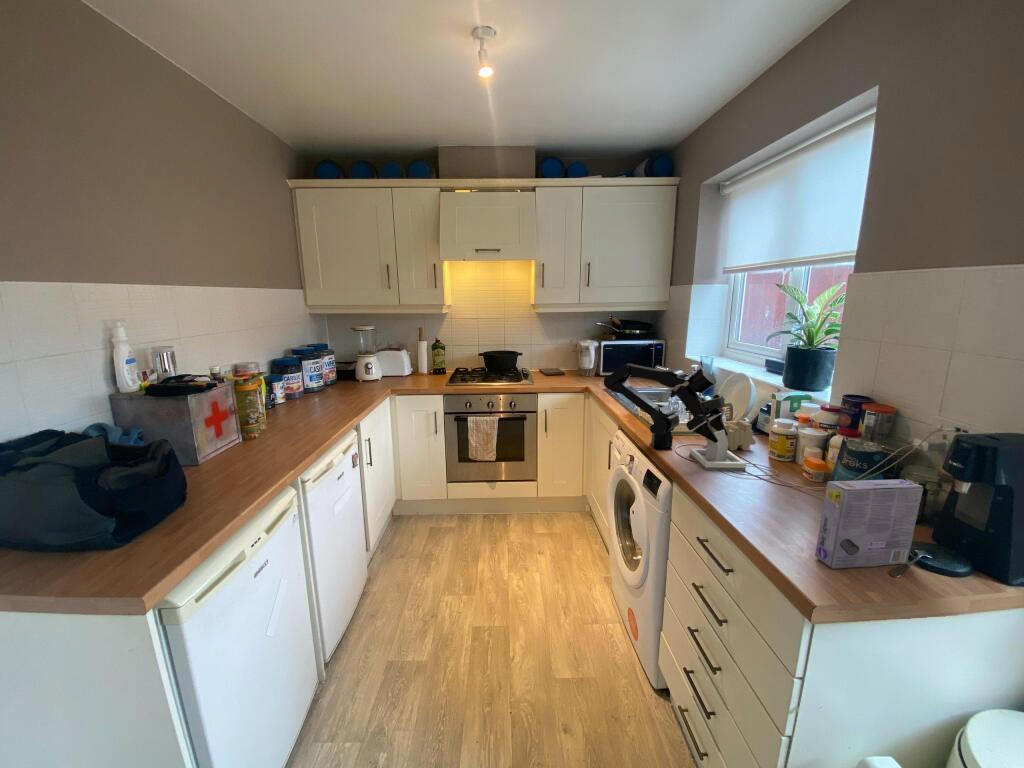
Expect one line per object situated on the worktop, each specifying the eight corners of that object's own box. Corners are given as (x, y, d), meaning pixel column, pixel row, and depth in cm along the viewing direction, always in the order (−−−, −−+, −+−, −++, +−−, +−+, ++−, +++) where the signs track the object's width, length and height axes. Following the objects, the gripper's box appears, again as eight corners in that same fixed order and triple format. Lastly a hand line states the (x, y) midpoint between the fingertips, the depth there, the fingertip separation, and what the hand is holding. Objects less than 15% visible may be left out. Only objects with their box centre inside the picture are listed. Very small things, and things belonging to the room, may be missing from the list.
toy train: (754, 450, 150) (758, 424, 148) (710, 451, 149) (713, 425, 147) (744, 445, 156) (748, 420, 154) (702, 446, 154) (705, 420, 152)
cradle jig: (705, 470, 133) (706, 462, 132) (689, 455, 145) (690, 448, 145) (745, 470, 132) (746, 463, 132) (725, 455, 145) (726, 449, 144)
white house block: (726, 459, 139) (729, 431, 137) (715, 463, 135) (719, 434, 133) (715, 455, 142) (718, 428, 140) (705, 460, 138) (708, 431, 136)
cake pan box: (889, 550, 91) (905, 476, 87) (913, 564, 86) (932, 486, 82) (811, 556, 89) (824, 480, 85) (831, 571, 84) (846, 491, 80)
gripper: (699, 391, 130) (733, 432, 125) (720, 383, 143) (751, 420, 138) (673, 410, 137) (703, 450, 132) (695, 401, 150) (724, 437, 145)
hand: (721, 438), depth 136 cm, fingers open, 9 cm apart
